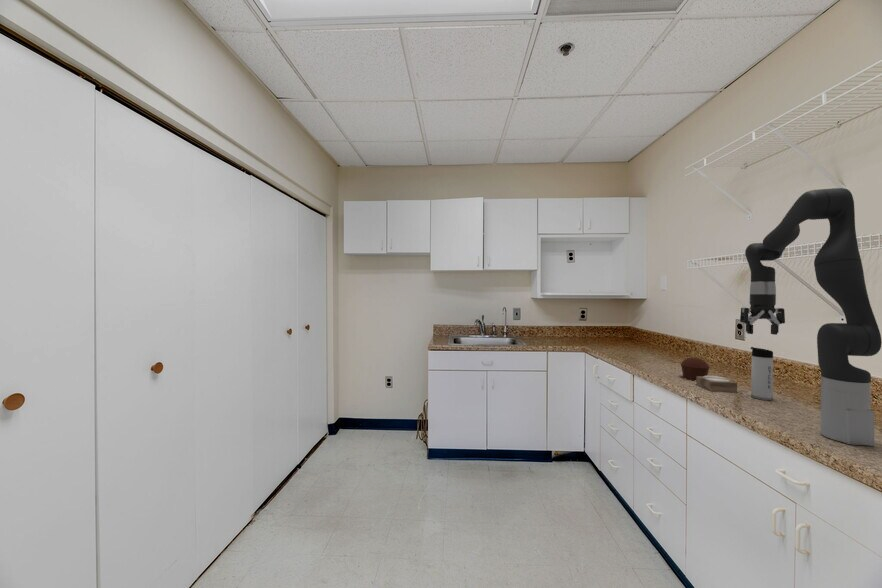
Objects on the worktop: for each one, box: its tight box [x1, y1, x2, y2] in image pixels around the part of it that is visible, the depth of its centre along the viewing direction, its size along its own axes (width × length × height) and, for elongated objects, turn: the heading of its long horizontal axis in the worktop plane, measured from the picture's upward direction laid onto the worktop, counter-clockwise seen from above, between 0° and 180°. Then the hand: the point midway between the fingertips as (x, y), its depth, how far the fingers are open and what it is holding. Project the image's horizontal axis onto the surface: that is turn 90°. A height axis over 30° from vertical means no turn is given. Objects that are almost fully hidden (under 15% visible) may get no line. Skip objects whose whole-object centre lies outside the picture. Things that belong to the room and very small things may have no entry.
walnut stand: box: [695, 375, 738, 393], centre depth 147 cm, size 10×10×4 cm
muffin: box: [680, 357, 710, 381], centre depth 164 cm, size 12×11×10 cm
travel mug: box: [750, 346, 774, 401], centre depth 134 cm, size 6×7×20 cm
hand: (762, 334), depth 134 cm, fingers open, 8 cm apart
